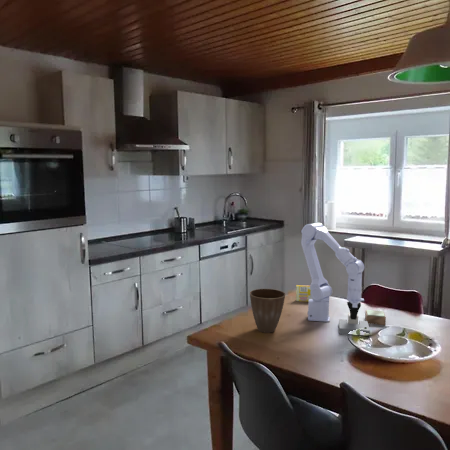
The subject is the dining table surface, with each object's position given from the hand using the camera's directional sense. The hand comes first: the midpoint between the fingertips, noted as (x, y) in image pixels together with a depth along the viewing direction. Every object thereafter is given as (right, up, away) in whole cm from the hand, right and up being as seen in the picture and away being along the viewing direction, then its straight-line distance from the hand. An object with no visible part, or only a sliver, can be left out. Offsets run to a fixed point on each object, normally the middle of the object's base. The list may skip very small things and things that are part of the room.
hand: (353, 319), depth 195 cm
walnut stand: (+12, -3, +7) cm, 14 cm away
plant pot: (-38, -4, -4) cm, 38 cm away
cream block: (+1, -3, +3) cm, 5 cm away
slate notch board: (-1, -4, -4) cm, 6 cm away
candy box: (-11, +1, +39) cm, 40 cm away
